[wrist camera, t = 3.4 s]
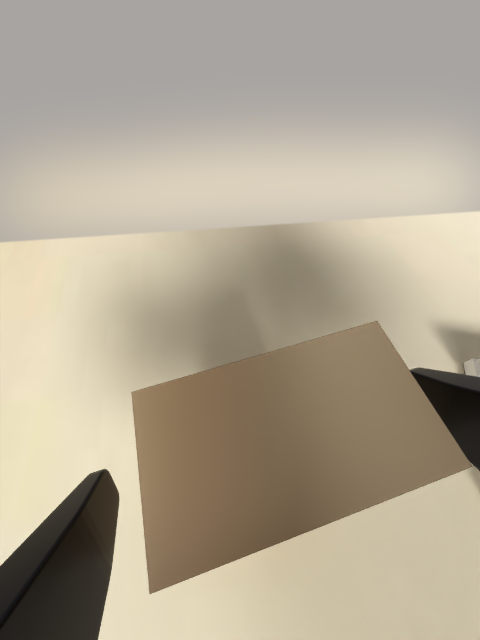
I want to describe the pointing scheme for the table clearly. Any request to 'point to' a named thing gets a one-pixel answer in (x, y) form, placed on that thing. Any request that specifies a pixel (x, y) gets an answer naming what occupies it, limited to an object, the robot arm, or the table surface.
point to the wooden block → (280, 449)
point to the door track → (472, 367)
